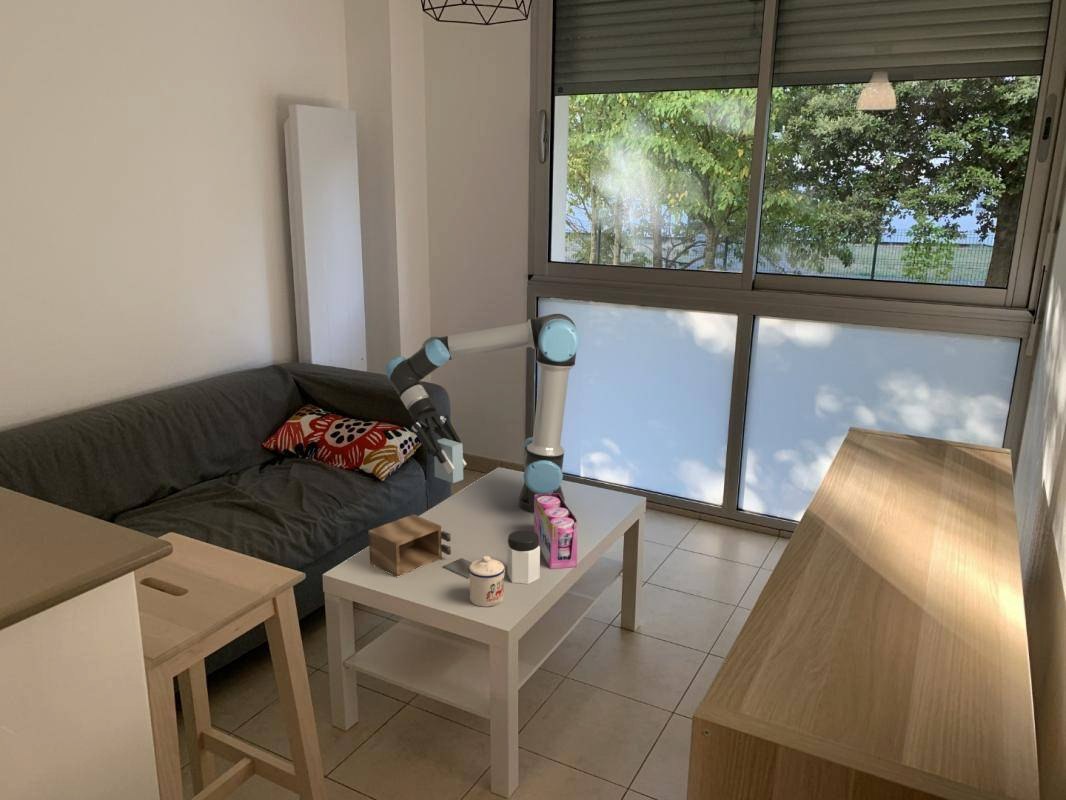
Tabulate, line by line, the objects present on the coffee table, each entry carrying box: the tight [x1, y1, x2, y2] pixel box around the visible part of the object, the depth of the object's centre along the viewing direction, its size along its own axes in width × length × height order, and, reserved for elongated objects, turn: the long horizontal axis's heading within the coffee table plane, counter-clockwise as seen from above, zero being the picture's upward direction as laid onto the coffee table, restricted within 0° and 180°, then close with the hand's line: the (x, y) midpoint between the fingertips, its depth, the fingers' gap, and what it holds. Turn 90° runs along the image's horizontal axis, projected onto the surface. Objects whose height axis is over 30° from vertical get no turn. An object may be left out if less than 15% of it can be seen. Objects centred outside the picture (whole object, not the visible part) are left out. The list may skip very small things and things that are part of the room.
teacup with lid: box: [469, 555, 506, 608], centre depth 210 cm, size 12×9×12 cm
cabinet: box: [368, 513, 473, 579], centre depth 227 cm, size 20×26×10 cm
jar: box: [506, 529, 541, 585], centre depth 221 cm, size 9×8×12 cm
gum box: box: [533, 493, 578, 570], centre depth 236 cm, size 24×8×14 cm, turn 12°
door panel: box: [433, 438, 464, 484], centre depth 240 cm, size 8×4×11 cm, turn 48°
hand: (457, 468), depth 238 cm, fingers closed on door panel, 4 cm apart
